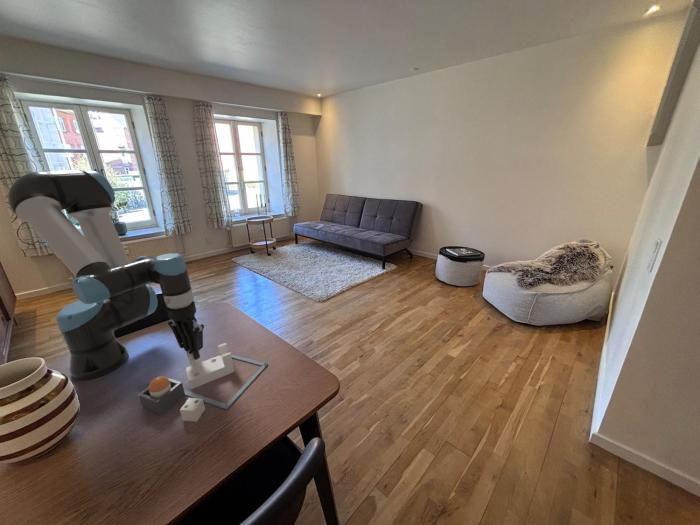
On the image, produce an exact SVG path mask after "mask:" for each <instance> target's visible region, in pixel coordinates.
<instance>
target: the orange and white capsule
mask: <svg viewBox="0 0 700 525" xmlns="http://www.w3.org/2000/svg"><path fill="white" fill-rule="evenodd" d="M168 378H169V377H167V378H166V376H164V375H163V376H162V375H160V376H157V377H154V378H153V379H152V380H151V381H150V383H149V385H148V387H149V392H150V395H151V397H153V398H156V399H159V398H160V397H161V396H163V395H164V394H165V393H166V392H168V391H169V390H170V389H171V385H170V381H169V379H168Z"/></svg>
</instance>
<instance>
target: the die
mask: <svg viewBox="0 0 700 525" xmlns="http://www.w3.org/2000/svg"><path fill="white" fill-rule="evenodd" d="M205 411H206V407H205V402H203V399H201V398H191V397H188V398H187V400H186V401H185V403H184V404H183V405H182V406H181V408H180V409H179V413H180V416H181V418H182V421H183V422H198V421H199V419H200V418H201V416H202V415H203V413H204V412H205Z"/></svg>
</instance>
